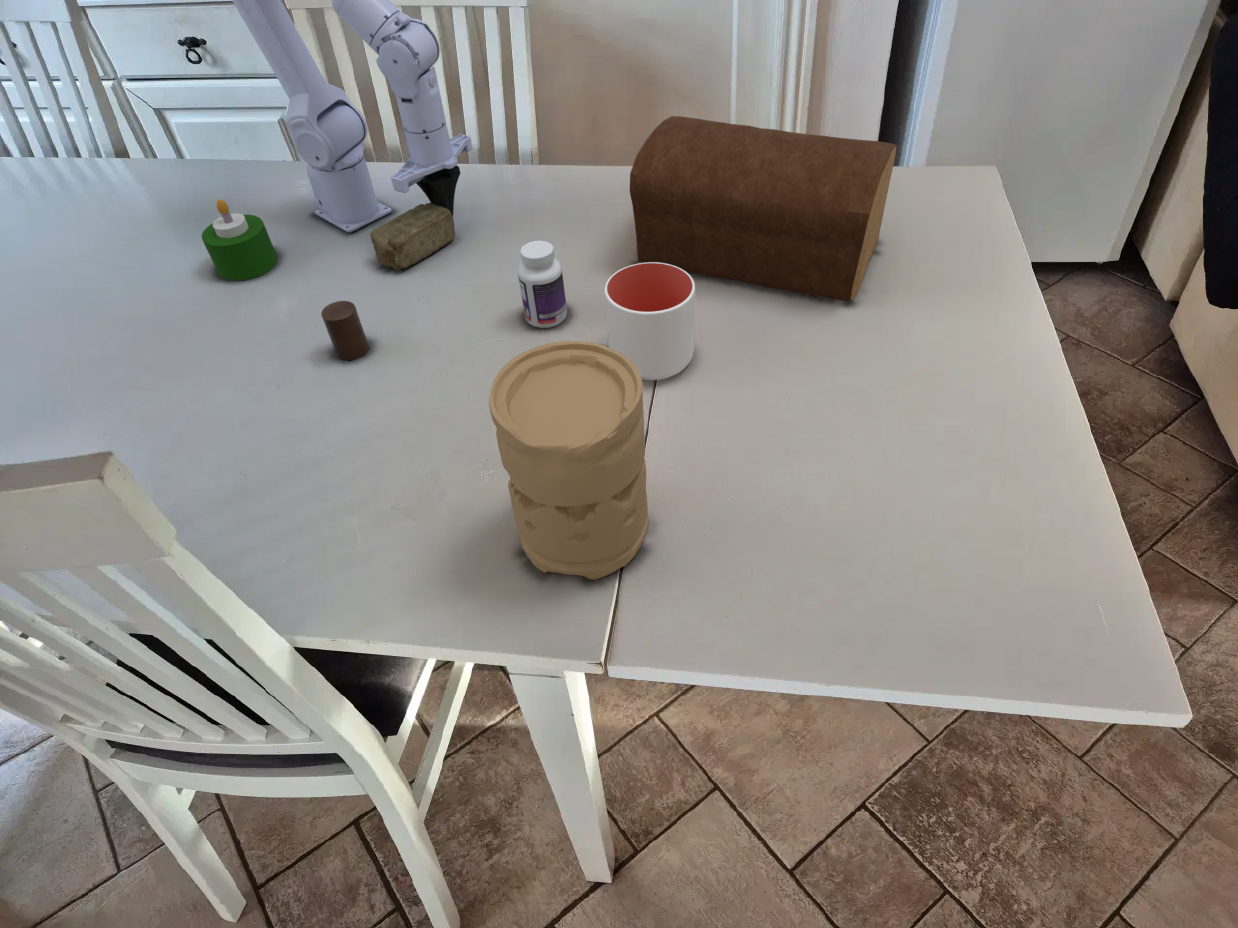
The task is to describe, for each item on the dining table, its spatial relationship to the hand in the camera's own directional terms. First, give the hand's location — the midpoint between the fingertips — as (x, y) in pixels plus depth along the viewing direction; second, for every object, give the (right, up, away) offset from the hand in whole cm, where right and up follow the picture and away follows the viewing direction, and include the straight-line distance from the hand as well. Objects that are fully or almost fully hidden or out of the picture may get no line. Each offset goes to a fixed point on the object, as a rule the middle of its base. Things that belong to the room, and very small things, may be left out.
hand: (445, 216), depth 119 cm
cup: (+29, -24, -22) cm, 44 cm away
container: (+22, -43, -40) cm, 62 cm away
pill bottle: (+16, -17, -15) cm, 28 cm away
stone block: (-3, -6, -2) cm, 7 cm away
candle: (-28, -8, -2) cm, 29 cm away
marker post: (-8, -22, -18) cm, 29 cm away
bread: (+44, -7, -7) cm, 45 cm away
